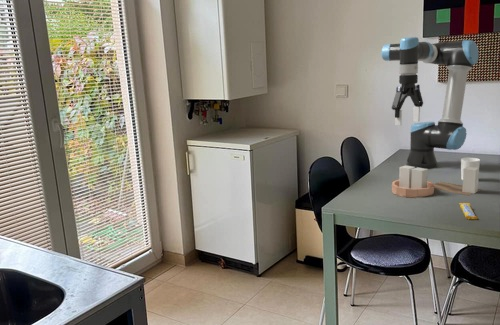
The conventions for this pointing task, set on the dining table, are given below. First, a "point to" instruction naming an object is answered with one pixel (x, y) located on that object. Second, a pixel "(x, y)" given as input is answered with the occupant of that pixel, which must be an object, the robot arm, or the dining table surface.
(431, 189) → the bowl
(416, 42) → the robot arm
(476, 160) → the white cup
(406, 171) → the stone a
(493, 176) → the dining table surface
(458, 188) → the board
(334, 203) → the dining table surface
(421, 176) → the off-white rectangular block
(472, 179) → the off-white square pillar
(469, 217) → the candy bar
